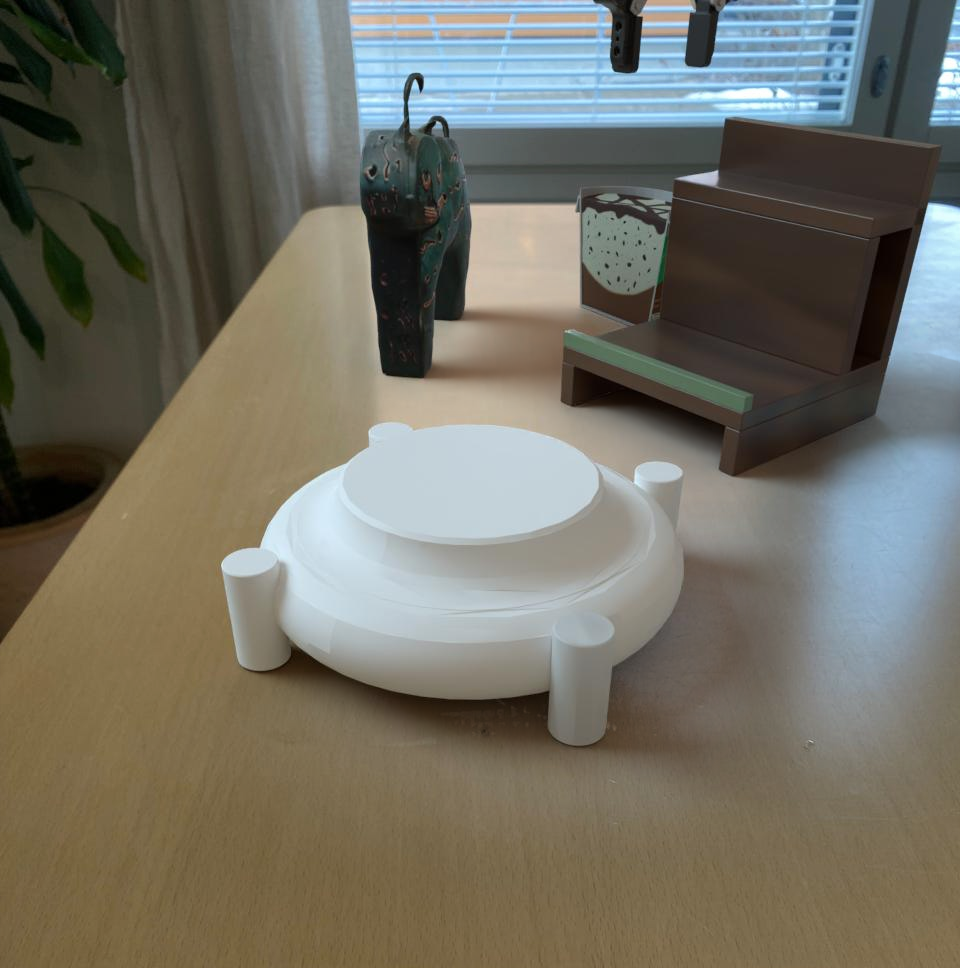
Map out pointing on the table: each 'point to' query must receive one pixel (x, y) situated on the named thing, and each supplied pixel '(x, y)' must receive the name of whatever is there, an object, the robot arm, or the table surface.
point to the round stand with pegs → (467, 570)
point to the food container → (623, 251)
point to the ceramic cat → (414, 236)
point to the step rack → (774, 288)
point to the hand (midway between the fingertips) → (662, 69)
